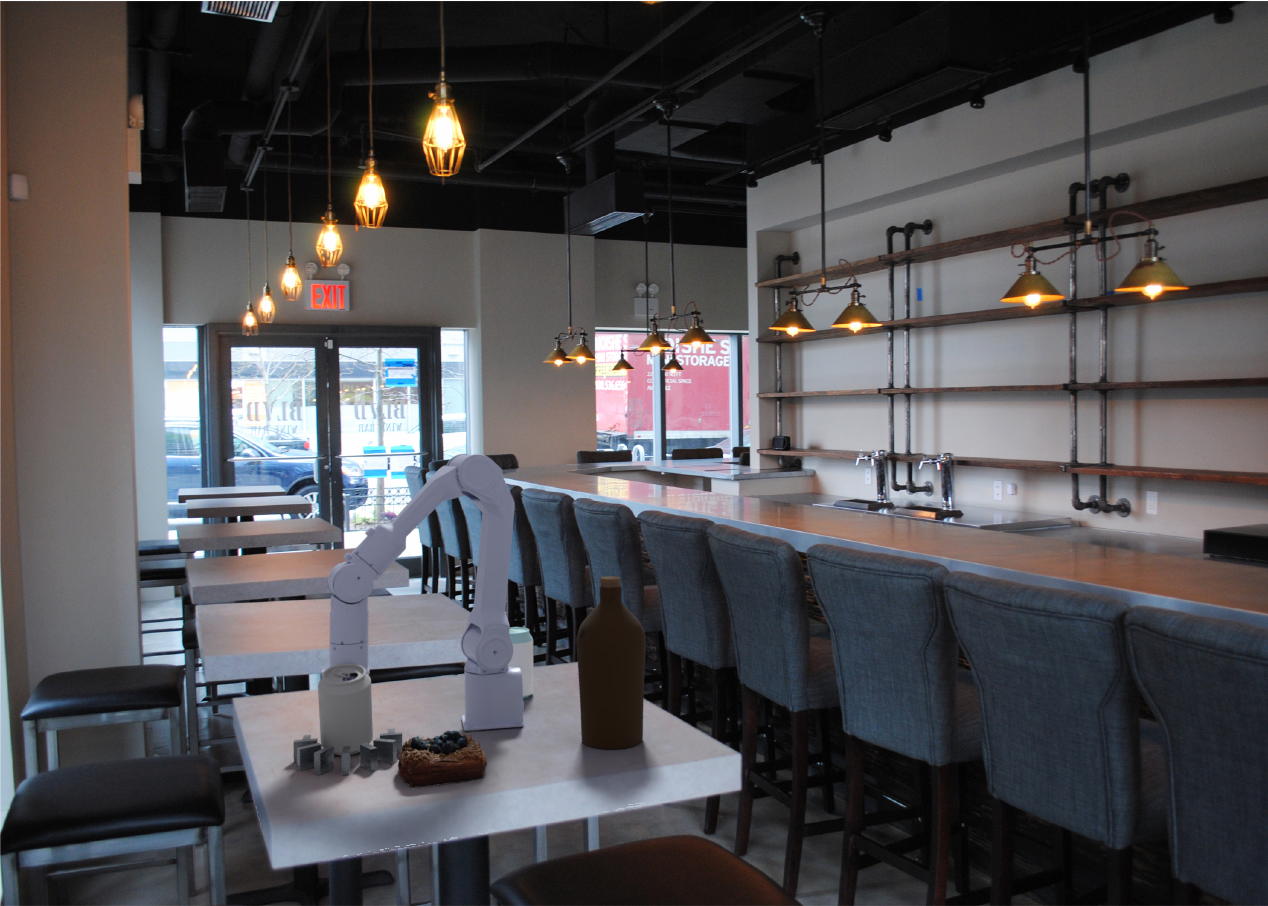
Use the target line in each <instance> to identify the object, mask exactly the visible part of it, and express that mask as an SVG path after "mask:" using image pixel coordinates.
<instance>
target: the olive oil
mask: <svg viewBox="0 0 1268 906" xmlns="http://www.w3.org/2000/svg"><path fill="white" fill-rule="evenodd" d="M599 582H600V586H599V602H598V604H597V605H596V606H595V607H594V609H593V610H592V611H591V612H590V613H589V614H588V615H587V616H586V617H585V618H584V620H583V621H582V622H581V624H580V626H579V629H578V633H577V635H576V653H577V654H576V655H577V657H576V658H577V669H578V670H577V671H578V672H577V673H578V685H579V687H578V690H579V691H578V692H579V706H580V707H579V708H580V729H581V730H580V732H581V734H580V735H581V742H582V743H583V744H584V745H585V746H588V747H590V748H594V749H598V750H599V749H601V750H621V749H627V748H631V747H634V746H638V745H639V744H640V743H642V741H643V738H644V698H645V697H644V695H645V694H644V693H645V671H646V670H645V669H646V666H645V665H646V652H647V651H646V649H647V648H646V647H647V642H646V640H647V639H646V638H647V637H646V635H645V630H644V627H643V625H642V623H641V622H640V620H639V619H638V618H637V617H636V616H635V615H634V614H633V613H632V612H631V610H630V609H628V607H627V606H626V605H625V604H624V602H623V601H622V594H623V593H622V585H621V582H622V579H621V577H620V576H613V575H612V576H611V575H609V576H602V577H600V578H599Z"/></svg>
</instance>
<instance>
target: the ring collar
mask: <svg viewBox="0 0 1268 906" xmlns="http://www.w3.org/2000/svg"><path fill="white" fill-rule="evenodd" d="M402 746H403V732H402V731H398V732H396V728H387V732H384V733H379V738H375V739H372V744H371V743H370V744H368V743H364V744H360V752H359V765H360V766H361V767H363V768H365V769H366V770H368V771H371V772H372V771H376V770H378V762H379V763H380V762H381V763H389V764H394V763H395V762H397V760H398V758H397V757H398V756H399V753H400V752H401V750H402ZM351 755H352V754H351V751H350V746H343V749H342V753H341V755H340V756H341V775H342V776H346V775H347V776H348V775H350V773H351V765H352V762H351V760H352V759H351V757H352V756H351ZM397 755H398V756H397ZM293 763H294V764H296V770H298V771H304V770H310V769H313V768H314V769H313V773H314V775H316V776H322V775H323V774H325V773H327V772H329V771H331V770H332V769H334V768H335V754H334V746H327V747H325V748H323V747H322V744H321V742H318V738H312V735H311V734H304V735H303V736H302V739H294V740H293Z"/></svg>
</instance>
